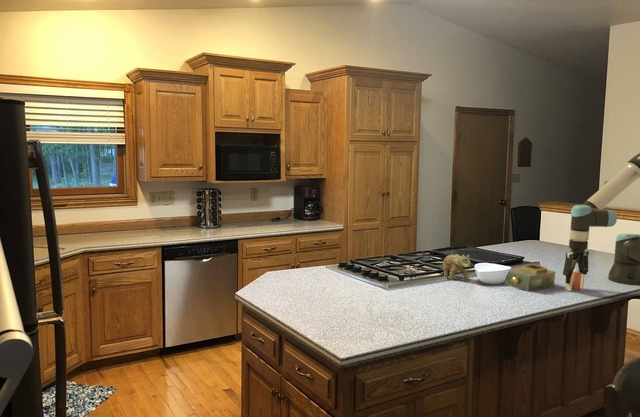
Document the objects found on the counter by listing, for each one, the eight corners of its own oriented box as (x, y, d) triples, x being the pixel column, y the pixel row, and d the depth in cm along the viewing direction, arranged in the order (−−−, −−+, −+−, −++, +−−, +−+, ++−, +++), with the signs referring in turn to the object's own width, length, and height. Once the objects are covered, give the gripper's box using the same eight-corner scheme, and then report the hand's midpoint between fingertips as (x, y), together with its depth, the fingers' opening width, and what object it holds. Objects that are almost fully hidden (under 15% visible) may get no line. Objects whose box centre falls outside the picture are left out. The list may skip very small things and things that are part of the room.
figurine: (451, 290, 249) (455, 259, 242) (436, 274, 263) (439, 244, 256) (471, 287, 251) (475, 256, 245) (455, 272, 265) (459, 242, 259)
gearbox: (530, 279, 257) (531, 262, 255) (554, 286, 245) (556, 268, 244) (501, 284, 246) (503, 267, 245) (526, 292, 235) (527, 273, 234)
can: (572, 287, 244) (574, 268, 243) (582, 290, 240) (583, 270, 239) (566, 289, 242) (568, 269, 241) (575, 291, 238) (577, 272, 237)
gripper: (584, 236, 247) (580, 284, 250) (556, 240, 236) (552, 289, 239) (600, 239, 240) (595, 288, 243) (572, 243, 230) (567, 294, 233)
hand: (574, 289), depth 241 cm, fingers open, 8 cm apart
